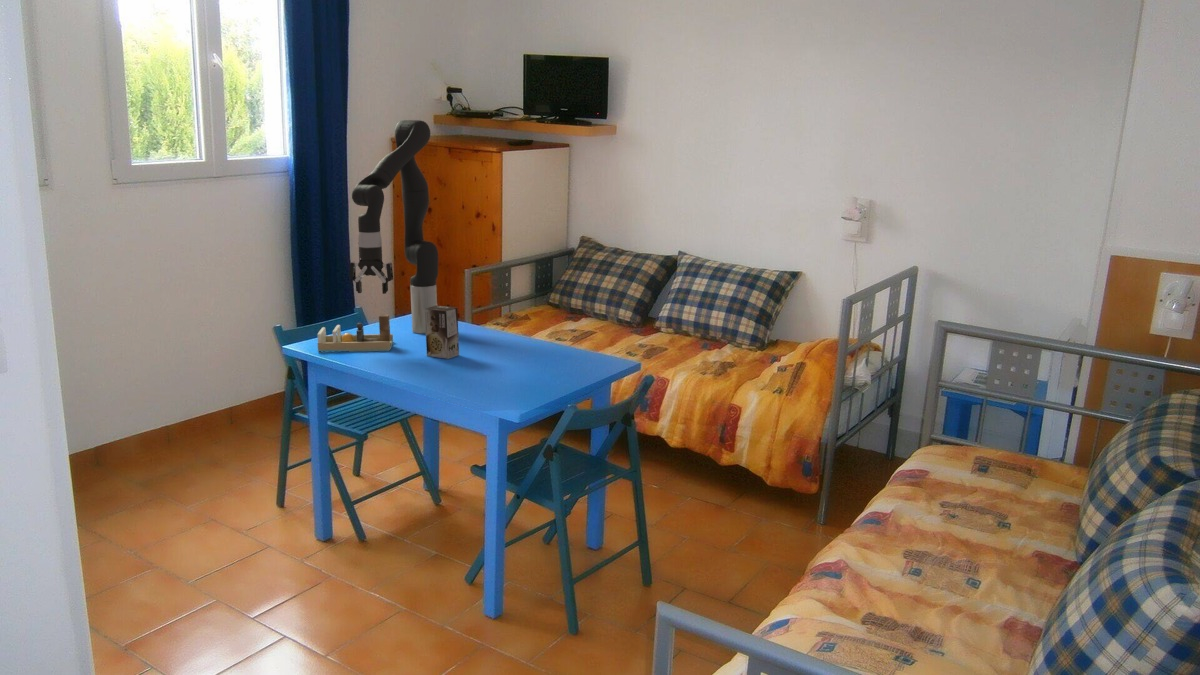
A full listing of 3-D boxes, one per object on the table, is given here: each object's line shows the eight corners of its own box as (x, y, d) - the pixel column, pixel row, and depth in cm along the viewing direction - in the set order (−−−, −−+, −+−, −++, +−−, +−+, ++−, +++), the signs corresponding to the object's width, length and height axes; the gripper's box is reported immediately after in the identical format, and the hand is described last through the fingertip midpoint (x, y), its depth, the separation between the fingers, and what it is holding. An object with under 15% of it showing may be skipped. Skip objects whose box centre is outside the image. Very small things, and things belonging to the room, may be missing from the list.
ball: (354, 342, 321) (354, 331, 320) (353, 345, 317) (352, 334, 316) (342, 343, 320) (342, 331, 319) (341, 346, 317) (340, 334, 316)
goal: (341, 341, 323) (340, 324, 322) (336, 348, 314) (335, 331, 312) (323, 341, 323) (322, 325, 321) (318, 348, 313) (317, 331, 312)
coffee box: (459, 355, 310) (458, 307, 306) (448, 359, 304) (446, 310, 301) (437, 351, 314) (435, 304, 310) (425, 356, 308) (423, 308, 305)
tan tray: (393, 342, 326) (392, 333, 325) (389, 350, 315) (389, 341, 314) (323, 343, 323) (323, 335, 323) (318, 352, 312) (317, 343, 312)
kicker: (390, 340, 323) (389, 313, 321) (388, 344, 317) (387, 316, 315) (358, 340, 322) (357, 313, 320) (356, 345, 316) (354, 317, 314)
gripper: (394, 244, 315) (396, 291, 319) (353, 243, 316) (355, 290, 320) (387, 247, 308) (389, 295, 311) (345, 246, 309) (347, 294, 313)
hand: (372, 293), depth 316 cm, fingers open, 8 cm apart
